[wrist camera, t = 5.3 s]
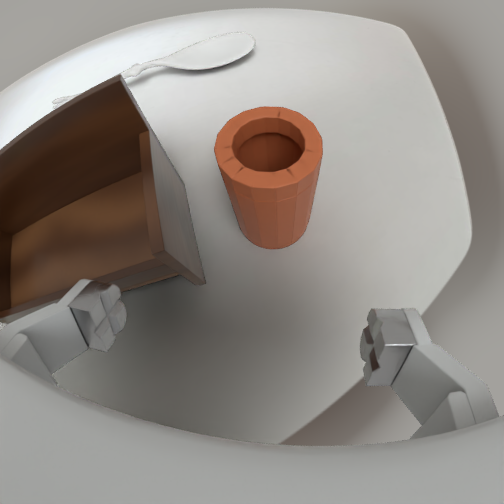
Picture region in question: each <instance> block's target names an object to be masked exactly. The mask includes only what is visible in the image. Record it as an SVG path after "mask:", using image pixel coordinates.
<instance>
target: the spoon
mask: <svg viewBox="0 0 504 504" xmlns="http://www.w3.org/2000/svg"><path fill="white" fill-rule="evenodd" d="M254 46H255V40H254V38H253V36H252V35H250V34H248V33H245V32H234V33H228V34H223V35H218V36H215V37H212V38H209V39H206V40H203V41H200V42H198V43H195V44H192V45H190V46H188V47H186V48H184V49H181V50H179V51H177V52H175V53H173V54H171V55H169V56H167V57H164V58H160V59H156V60H153V61H149V62H145V63H142V64H135V65H133V66H132V67H131V68H129V69H127V70H125V71H123V72H121V73H119V74H121V75H122V77H123V79H126V78H128V77H131V76H132V77H135V76H137V75H139V74H140V73H141V72H142V71H144V70H146V69H149V68H152V67H158V66H166V67H173V68H179V69H187V70H202V69H210V68H215V67H219V66H223V65H226V64H229V63H231V62H234V61H236V60H238V59H240V58H242V57H243V56H245V55H246V54H248V53H249V52H250V51H251V50H252V49H253V48H254ZM119 74H117V75H119ZM117 75H115V76H117ZM115 76H114V77H115ZM112 78H113V77H112ZM81 94H82V93H81ZM78 95H80V94H77V95H73V96H67V97H61V98H57V99H55V100H54V101H53V102H52V103H53V104H57V105H55V106H54V107H53V108H54V109H57V108H58V107H60V106H61V105H63V104H65V103H66V102H68V101H70V100H71V99H73V98H75V97H76V96H78Z"/></svg>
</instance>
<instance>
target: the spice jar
mask: <svg viewBox="0 0 504 504" xmlns="http://www.w3.org/2000/svg"><path fill="white" fill-rule="evenodd" d="M214 152H215V156H216V159H217V163H218V166H219V169H220V172H221V175H222V177H223V180H224V183H225V186H226V189H227V192H228V194H229V197H230V200H231V203H232V206H233V209H234V212H235V214H236V217H237V220H238V223H239V226H240V229H241V230H242V232H243V234H244V235H245V236H246V238H247V239H248V240H249V241H251V242H252V243H254V244H255V245H257V246H259V247H262V248H266V249H280V248H285V247H287V246H290V245H292V244H293V243H295V242H296V241H297V240H298V239H299V238H300V237H301V236H302V235H303V233H304V232H305V230H306V227H307V225H308V222H309V218H310V214H311V209H312V204H313V200H314V195H315V190H316V185H317V180H318V175H319V170H320V165H321V160H322V155H323V148H322V138H321V136H320V134H319V132H318V130H317V129H316V127H315V125H314V124H313V123H312V122H311V121H310V120H308V119H307V118H306V117H304V116H303V115H302V114H300V113H298V112H296V111H293V110H290V109H287V108H283V107H282V108H281V107H259V108H255V109H251V110H247V111H245V112H244V111H243V112H242V113H240V114H238V115H237V116H235V117H233V118H232V119H230V120H229V121H228V122H227V123H226V124H225V126H224V127H223V128H222V129H221V131H220V132H219V133H218V135H217V139H216V143H215V147H214Z"/></svg>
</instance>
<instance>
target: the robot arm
mask: <svg viewBox="0 0 504 504" xmlns="http://www.w3.org/2000/svg"><path fill="white" fill-rule="evenodd" d="M121 295H122V294H121V291H120V288H119V287H118V286H117V285H115V284H110V283H105V282H100V281H93V280H88V279H81V280H80V281H79V282H78V283H77V284H76V285H75V286H74V287H73V288H72V289H71V290H70V291H69V292H68V293H67V294H66V295H65V296H64V297H63V298H62V299H61V300H60V301H59V302H58V303H57V304H56V303H53V304H51V305H48V306H46V307H44V308H42V309H40V310H37V311H35V312H33V313H31V314H28V315H26V316H24V317H22V318H20V319H18V320H15V321H13V322H11V323H9V324H7V325H6V326H5V327H4V328H3V329H2V330H1V331H0V504H504V415H503V416H500V417H499V415H498V412H497V409H496V406H495V404H494V401H493V399H492V396H491V393H490V391H489V388H488V386H487V384H486V383H484V382H483V381H482V380H481V379H480V378H478V377H477V376H476V375H475V374H474V373H472V372H471V371H470V370H469V369H467V368H466V367H465V366H464V365H462V364H461V363H460V362H459V361H457V360H456V359H455V358H454V357H453V356H451V355H450V354H449V353H447V352H446V351H445V350H444V349H442V348H441V347H440V346H439V345H437V344H433V343H432V341H431V339H430V337H429V334H428V332H427V330H426V328H425V325H424V323H423V321H422V319H421V317H420V315H419V312H418V311H417V310H416V309H415V308H409V309H372V308H371V310H370V312H369V314H368V317H367V321H368V326H367V327H366V328H365V329H363V332H362V336H361V341H360V354H361V358H362V359H363V360H364V361H365V362H366V363H365V366H364V368H363V372H364V378H365V384H366V386H391V388H392V389H393V390H394V391H395V392H396V394H397V395H398V396H399V397H400V399H401V400H402V401H403V403H404V404H405V405H406V406H407V408H408V409H409V410H410V411H411V412H412V414H413V415H414V416H415V417H416V419H417V420H418V421H419V422H420V424H421V425H422V426H421V427H420V428H419V429H418V430H417V431H416V432H415V433H414V434H413V435H412V437H411V438H410V439H409V440H402V441H395V442H387V443H377V444H366V445H350V446H294V445H277V444H265V443H256V442H247V441H239V440H232V439H226V438H220V437H214V436H208V435H203V434H198V433H193V432H189V431H184V430H180V429H176V428H172V427H168V426H164V425H160V424H157V423H153V422H150V421H146V420H143V419H140V418H137V417H133V416H130V415H127V414H124V413H121V412H118V411H116V410H113V409H110V408H107V407H105V406H102V405H100V404H97V403H94V402H92V401H90V400H87V399H85V398H82V397H80V396H78V395H75V394H73V393H71V392H69V391H67V390H65V389H62V388H60V387H58V386H57V382H56V380H55V379H54V378H53V376H52V375H51V374H52V373H54V372H55V371H57V370H58V369H60V368H61V367H63V366H64V365H65V364H67V363H68V362H70V361H71V360H73V359H74V358H76V357H77V356H78V355H80V354H81V353H83V352H84V351H86V350H87V349H88V347H89V348H92V349H96V350H100V351H103V352H108V350H109V349H110V347H111V346H112V344H113V343H114V341H115V340H116V338H115V334H116V333H118V332H120V331H122V329H123V327H124V326H125V323H126V319H127V311H126V308H125V305H124V304H123V303H122V301H121V300H120V297H121Z"/></svg>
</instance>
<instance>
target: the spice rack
mask: <svg viewBox="0 0 504 504" xmlns="http://www.w3.org/2000/svg"><path fill="white" fill-rule="evenodd" d="M179 274H180V275H182V276H183V277H185V278H186V279H188V280H189V281H191V282H192V283H194V284H195V285H196V286H199V285H202V284H206V281H205V277H204V273H203V269H202V265H201V261H200V256H199V252H198V248H197V243H196V239H195V234H194V230H193V225H192V220H191V216H190V211H189V206H188V201H187V196H186V191H185V186H184V183H183V181H182V180H181V178H180V176H179V175H178V173H177V171H176V170H175V168H174V166H173V165H172V163H171V161H170V159H169V158H168V156H167V154H166V152H165V151H164V149H163V147H162V146H161V144H160V142H159V140H158V139H157V137H156V135H155V133H154V132H153V130H152V128H151V126H150V125H149V123H148V121H147V120H146V118H145V116H144V114H143V113H142V111H141V109H140V107H139V106H138V104H137V102H136V100H135V98H134V97H133V95H132V93H131V91H130V89H129V88H128V86H127V84H126V82H125V80H124V79H123V77H122V75H121V74H119V75H117V76H115V77H113V78H110V79H108V80H106V81H104V82H102V83H100V84H98V85H97V86H95V87H93V88H91V89H89V90H87V91H85V92H83V93H82V94H80V95H78V96H76V97H75V98H73V99H71V100H70V101H68V102H66V103H65V104H63V105H61V106H60V107H58V108H57V109H55V110H53V111H52V112H50V113H49V114H47V115H46V116H44V117H43V118H41V119H40V120H38V121H37V122H36V123H34V124H33V125H31V126H30V127H29V128H27V129H26V130H25V131H23V132H22V133H21V134H19V135H18V136H17V137H15V138H14V139H13V140H12V141H10V142H9V143H8V144H7V145H6V146H4V147H3V148H2V149H1V150H0V322H1V323H6V324H9V323H11V322H13V321H15V320H18V319H20V318H22V317H24V316H26V315H28V314H31V313H33V312H35V311H37V310H40V309H42V308H44V307H46V306H48V305H51V304H53V303H56V304H57V303H58V302H59V301H60V300H61V299H62V298H63V297H64V296H65V295H66V294H67V293H68V292H69V291H70V290H71V289H72V288H73V287H74V286H75V285H76V284H77V283H78V282H79V281H80V280H81V279H88V280H93V281H100V282H105V283H110V284H115V285H117V286H118V287H119V288H120V291H121V292H124V291H127V290H130V289H134V288H137V287H140V286H144V285H147V284H150V283H154V282H157V281H160V280H164V279H167V278H170V277H174V276H177V275H179Z"/></svg>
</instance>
